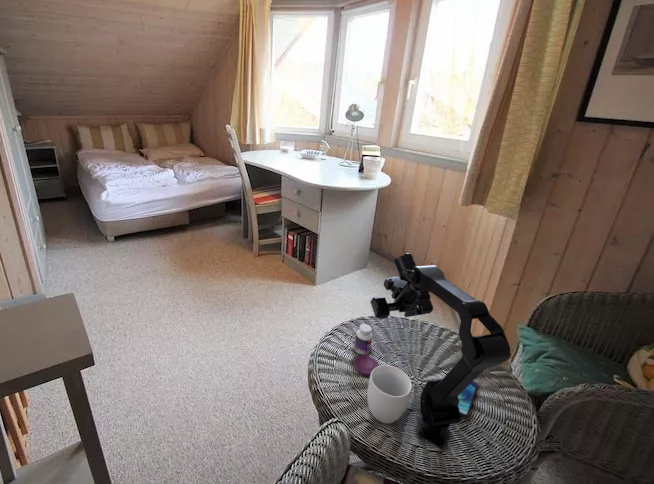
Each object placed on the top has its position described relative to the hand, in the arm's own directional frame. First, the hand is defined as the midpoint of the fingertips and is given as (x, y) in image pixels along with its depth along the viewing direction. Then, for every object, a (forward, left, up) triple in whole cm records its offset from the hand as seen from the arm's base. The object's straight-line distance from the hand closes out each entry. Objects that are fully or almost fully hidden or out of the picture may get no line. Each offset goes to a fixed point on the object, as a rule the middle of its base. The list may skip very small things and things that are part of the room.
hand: (392, 317), depth 116 cm
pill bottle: (-4, +7, -16) cm, 17 cm away
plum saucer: (-10, +2, -15) cm, 19 cm away
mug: (-22, -10, -16) cm, 29 cm away
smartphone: (-2, -25, -16) cm, 29 cm away
